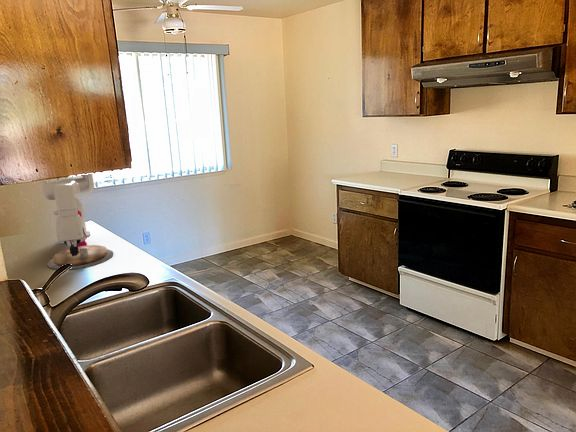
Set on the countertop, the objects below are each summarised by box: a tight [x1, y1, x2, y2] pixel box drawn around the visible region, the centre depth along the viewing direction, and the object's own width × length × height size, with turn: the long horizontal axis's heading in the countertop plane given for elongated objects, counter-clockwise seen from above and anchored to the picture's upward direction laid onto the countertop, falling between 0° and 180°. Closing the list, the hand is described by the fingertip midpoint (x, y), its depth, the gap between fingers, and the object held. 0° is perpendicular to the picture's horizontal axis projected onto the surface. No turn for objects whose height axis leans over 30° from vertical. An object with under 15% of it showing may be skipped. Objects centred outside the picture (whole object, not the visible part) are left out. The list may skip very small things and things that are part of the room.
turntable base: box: [47, 248, 114, 270], centre depth 206 cm, size 27×27×1 cm
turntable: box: [52, 244, 108, 266], centre depth 205 cm, size 22×22×6 cm
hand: (75, 255), depth 196 cm, fingers closed
